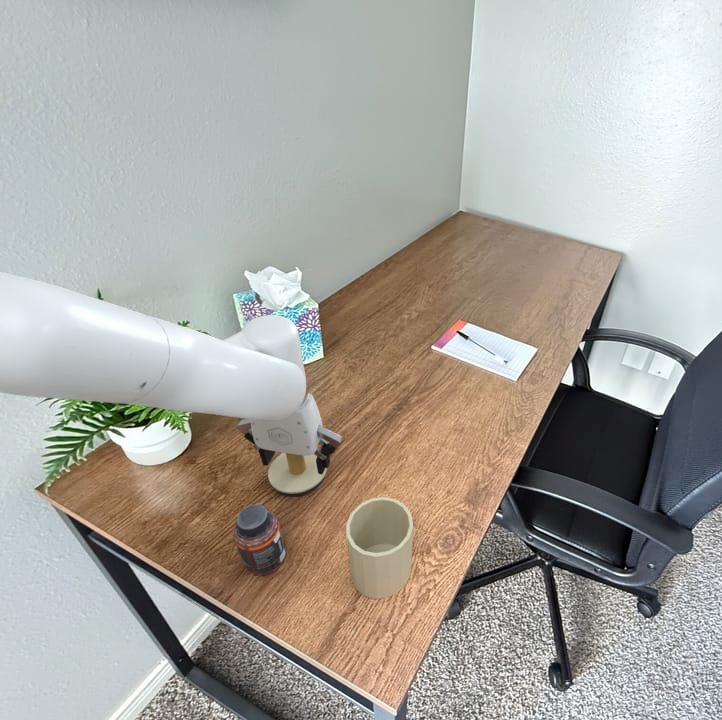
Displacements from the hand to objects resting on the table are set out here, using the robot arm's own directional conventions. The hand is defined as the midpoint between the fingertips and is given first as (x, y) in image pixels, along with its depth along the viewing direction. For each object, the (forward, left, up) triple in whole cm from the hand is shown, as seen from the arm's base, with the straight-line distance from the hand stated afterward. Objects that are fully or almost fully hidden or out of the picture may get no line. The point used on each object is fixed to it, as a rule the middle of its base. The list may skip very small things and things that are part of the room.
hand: (296, 463), depth 81 cm
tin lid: (0, 0, -2) cm, 2 cm away
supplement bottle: (-4, -15, -4) cm, 16 cm away
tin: (+13, -20, -3) cm, 24 cm away
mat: (0, 0, -3) cm, 3 cm away
